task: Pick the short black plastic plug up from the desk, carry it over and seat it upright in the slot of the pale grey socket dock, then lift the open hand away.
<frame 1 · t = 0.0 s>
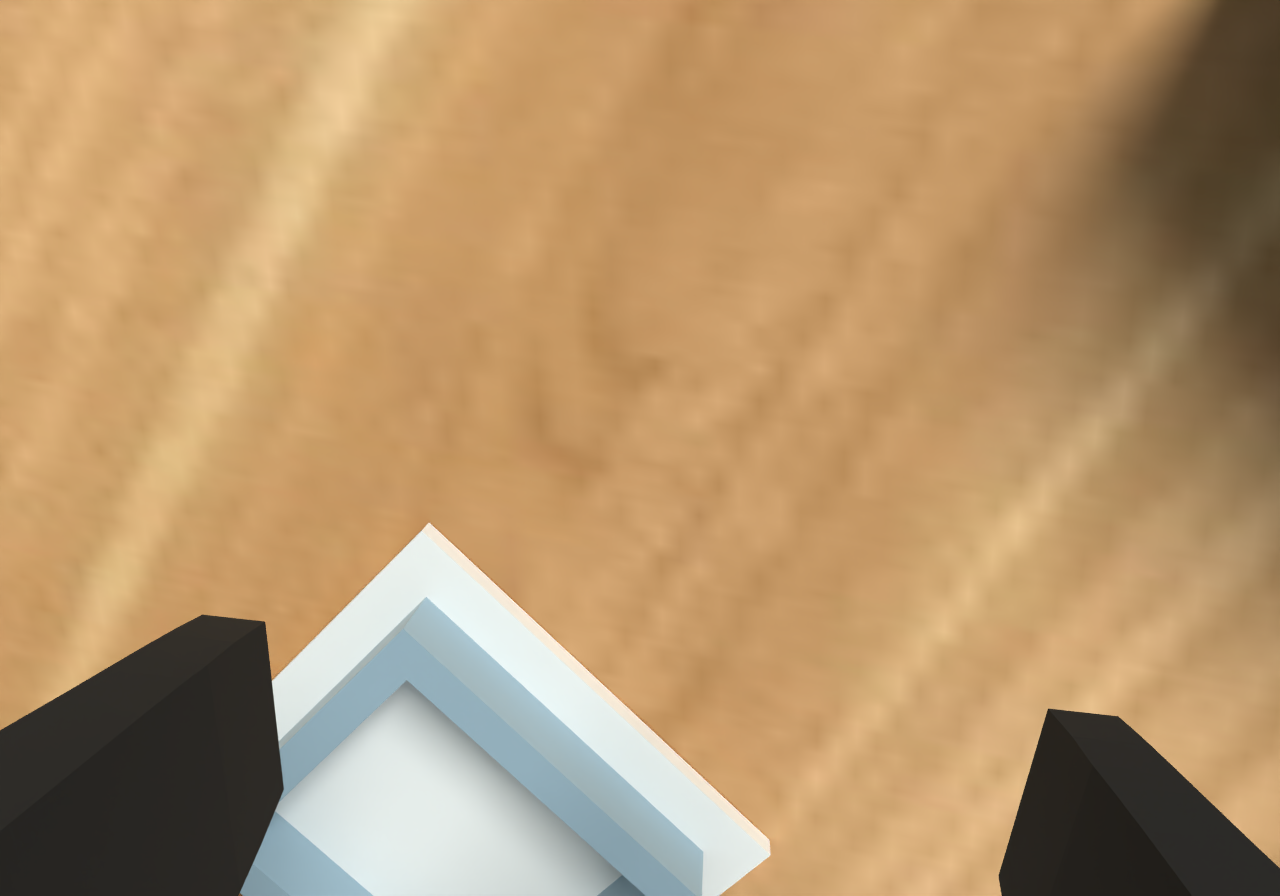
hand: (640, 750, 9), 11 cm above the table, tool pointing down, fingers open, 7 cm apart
socket dock: (462, 811, 22), on the table
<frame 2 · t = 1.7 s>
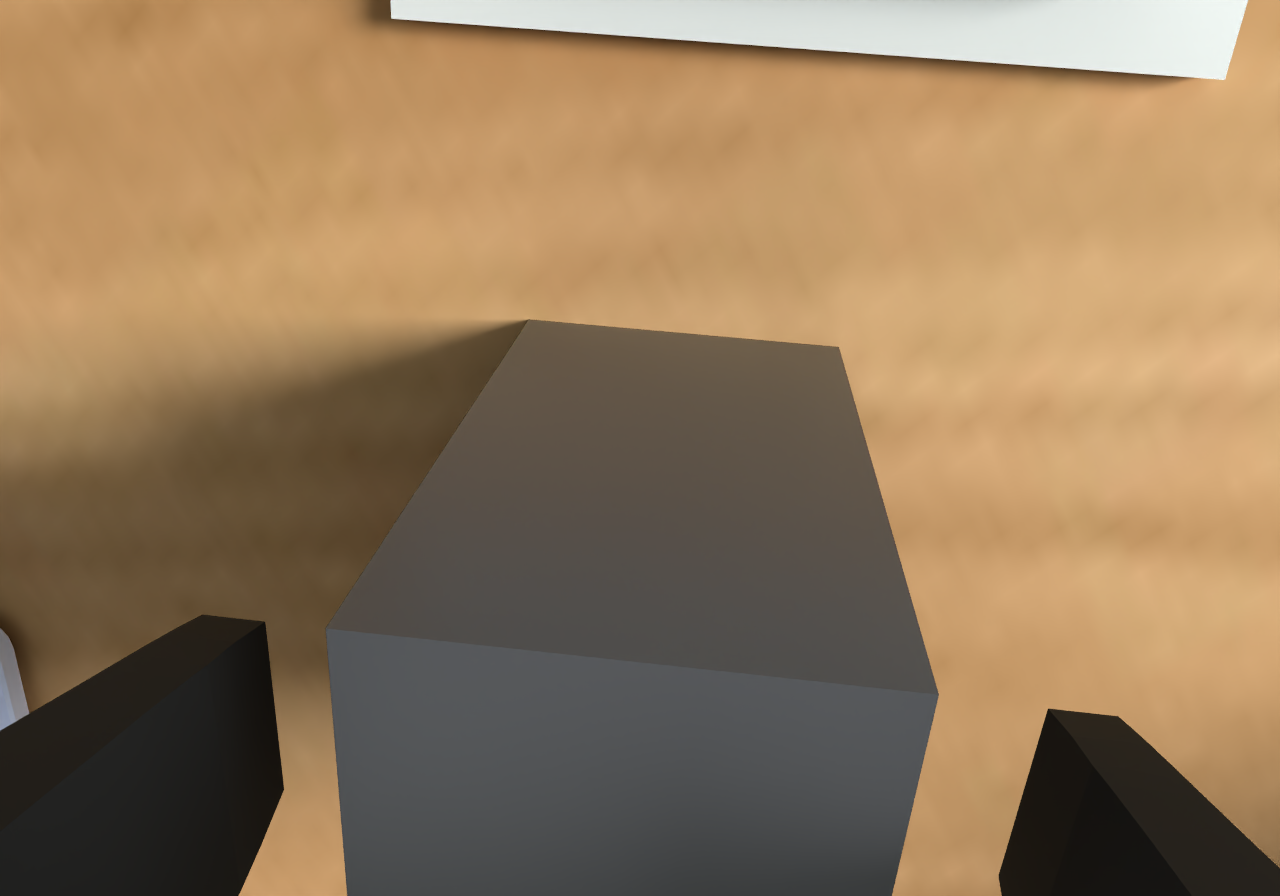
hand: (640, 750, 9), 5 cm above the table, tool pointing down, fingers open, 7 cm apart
plug: (667, 504, 14), on the table
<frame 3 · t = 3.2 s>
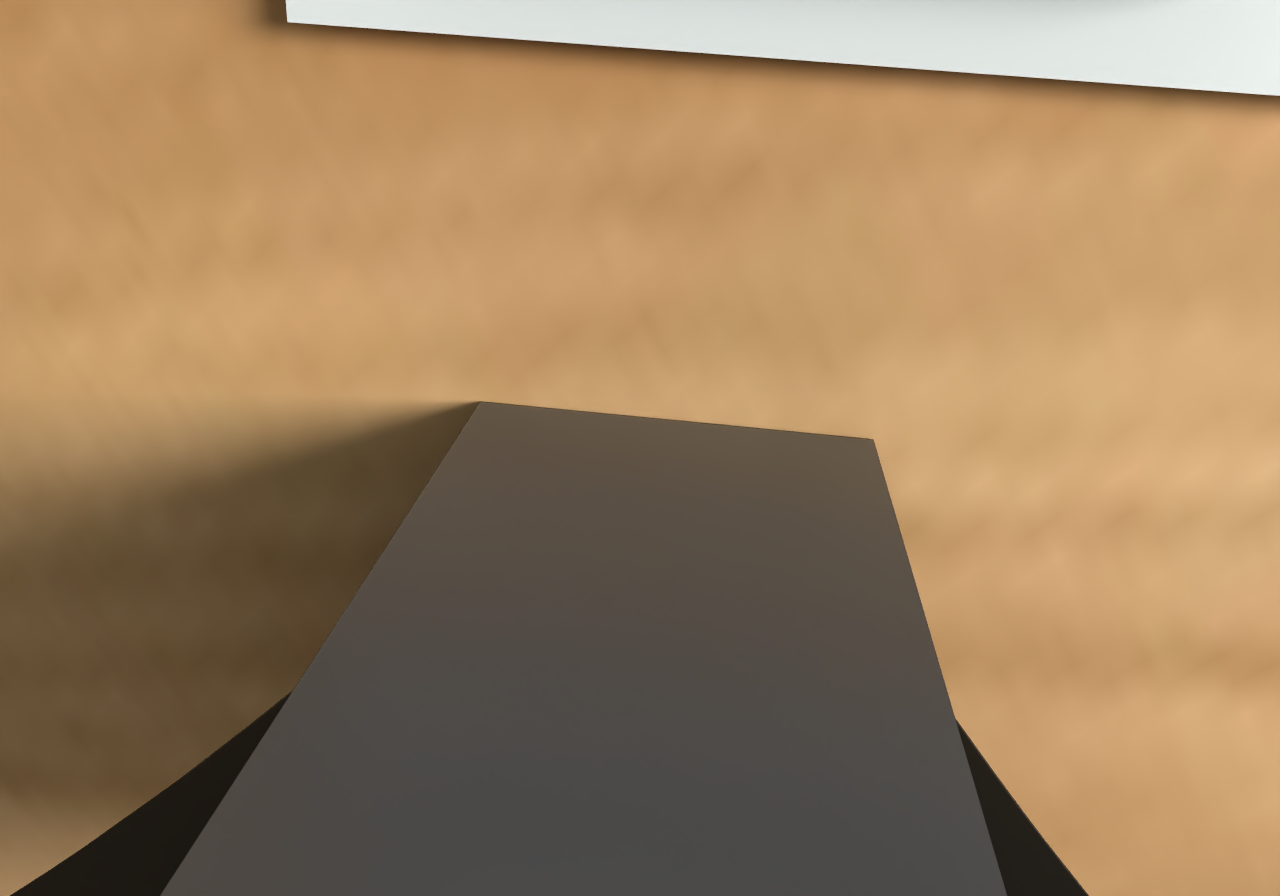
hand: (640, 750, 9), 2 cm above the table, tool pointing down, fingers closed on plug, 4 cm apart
plug: (656, 625, 11), on the table, touching gripper
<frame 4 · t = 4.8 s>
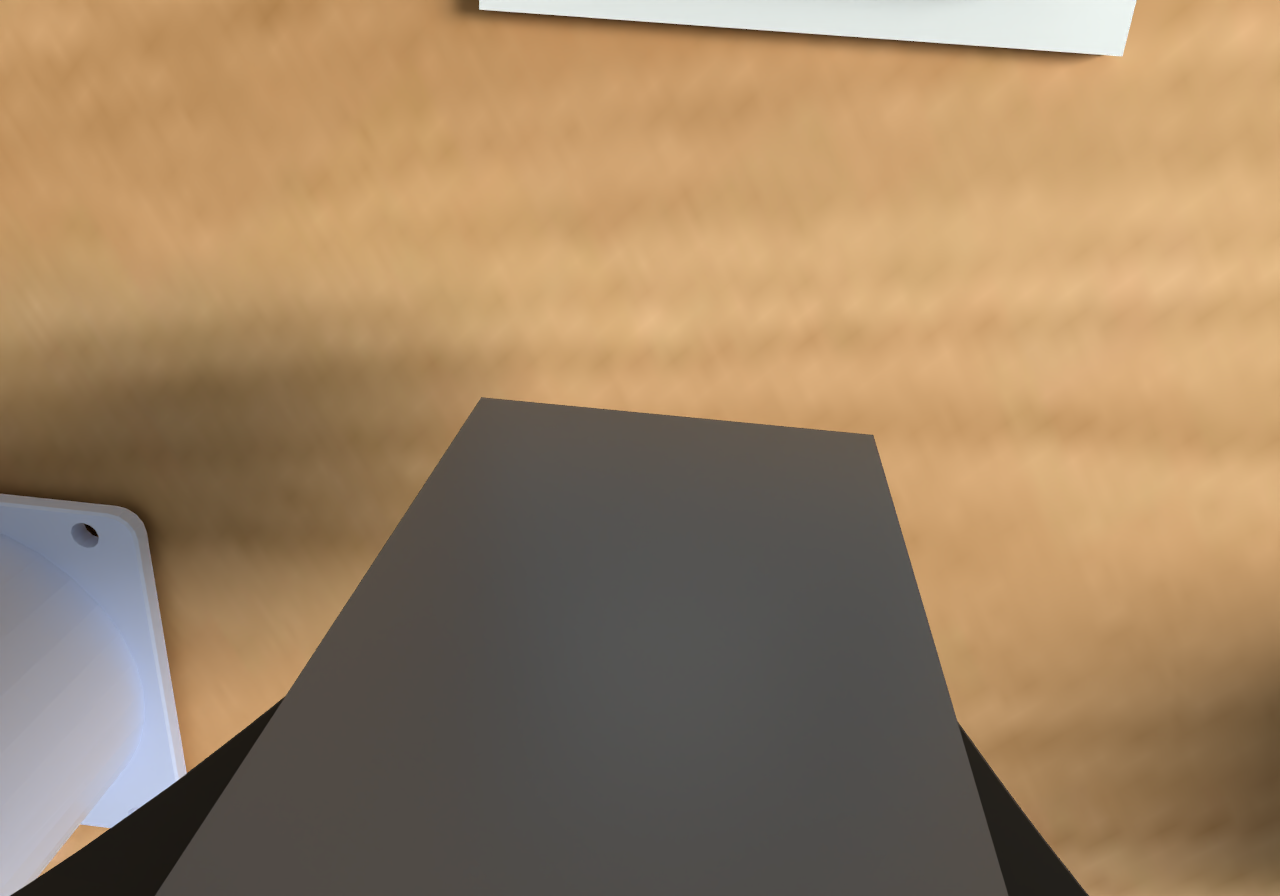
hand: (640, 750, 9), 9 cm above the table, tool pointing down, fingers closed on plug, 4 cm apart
plug: (657, 621, 11), point 6 cm above the table, touching gripper
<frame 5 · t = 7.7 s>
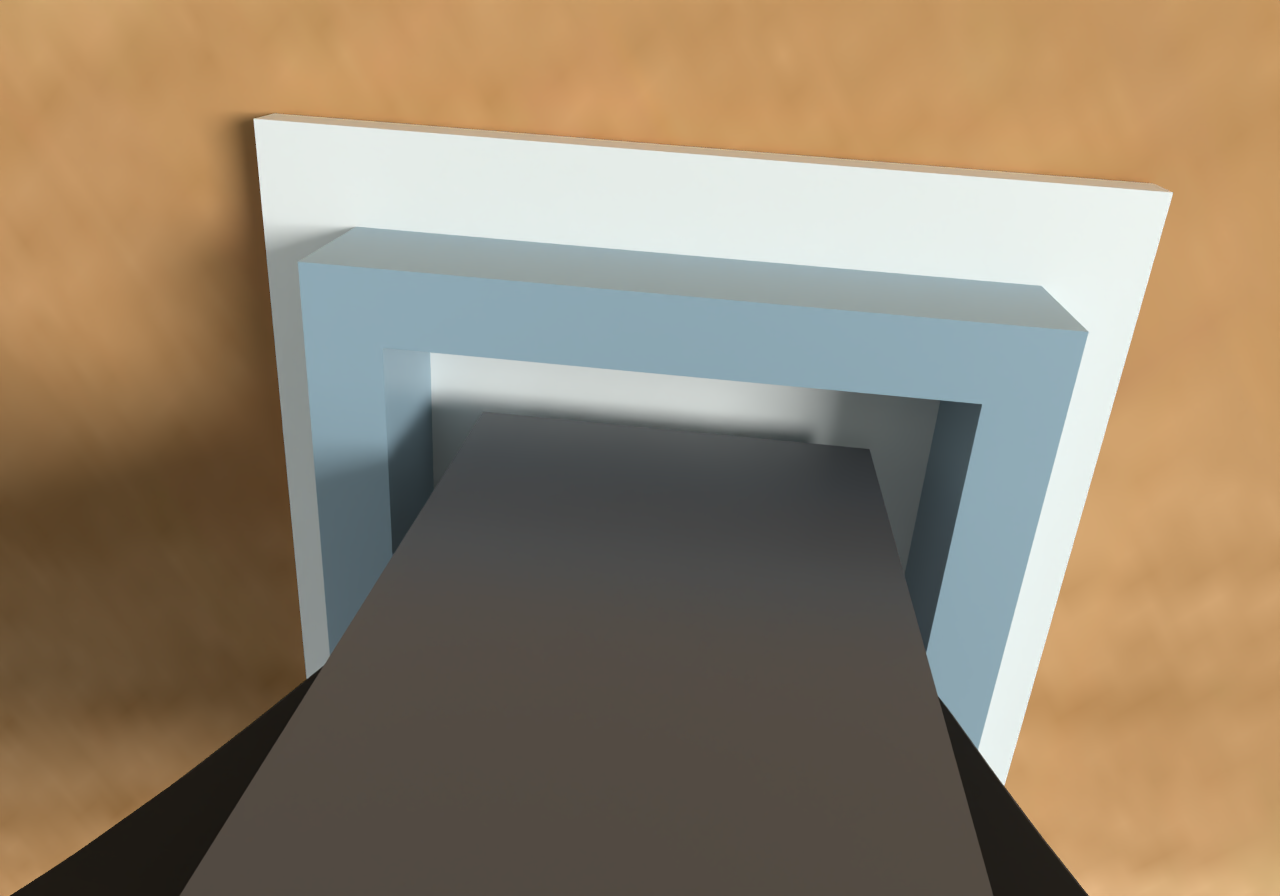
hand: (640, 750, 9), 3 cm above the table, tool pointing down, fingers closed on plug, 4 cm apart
socket dock: (665, 566, 12), on the table
plug: (656, 631, 11), point 1 cm above the table, touching gripper
when the fingers open (3 cm above the table, at t = 8.2 s): plug stays where it is, resting on socket dock.
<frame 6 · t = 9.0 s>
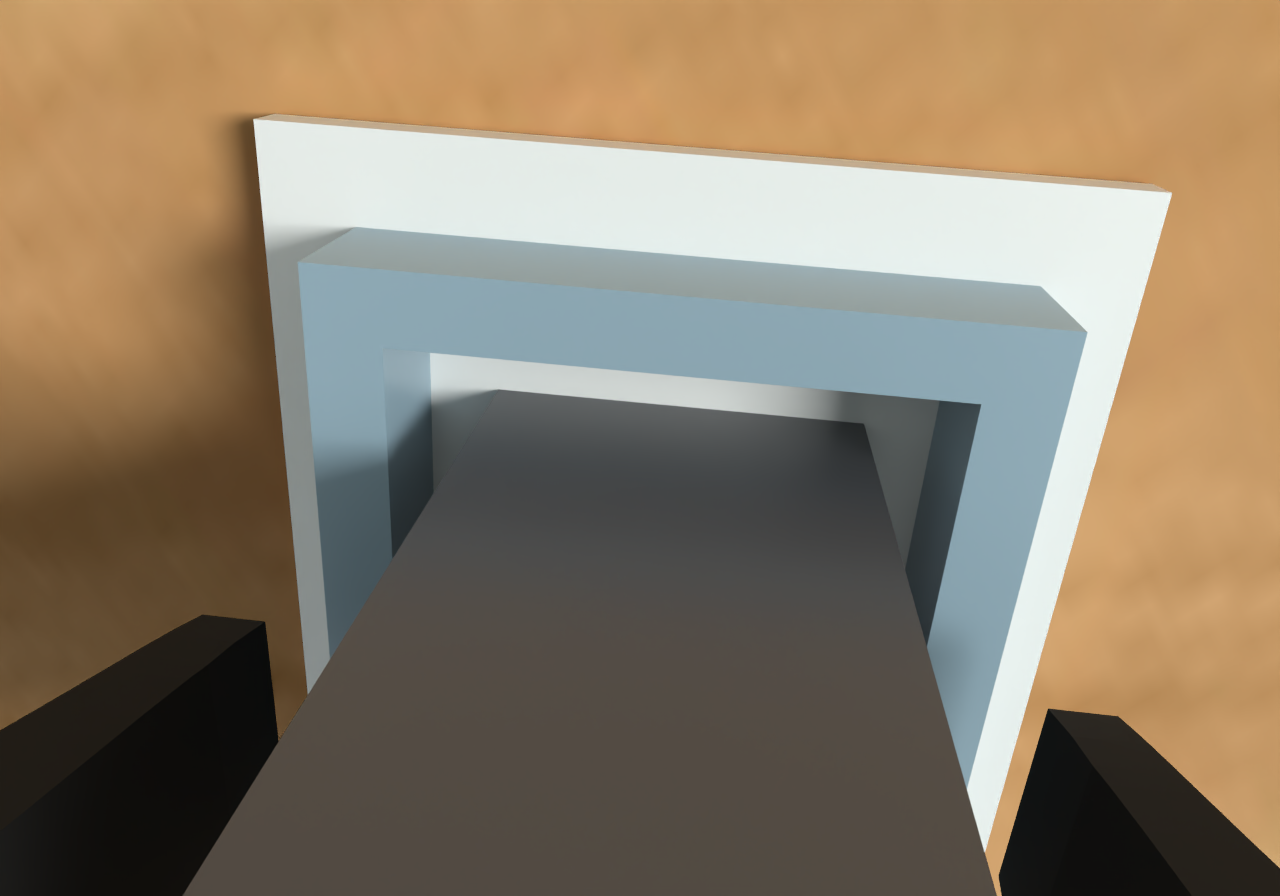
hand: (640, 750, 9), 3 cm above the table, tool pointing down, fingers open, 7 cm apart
socket dock: (665, 566, 12), on the table
plug: (662, 599, 12), resting on socket dock
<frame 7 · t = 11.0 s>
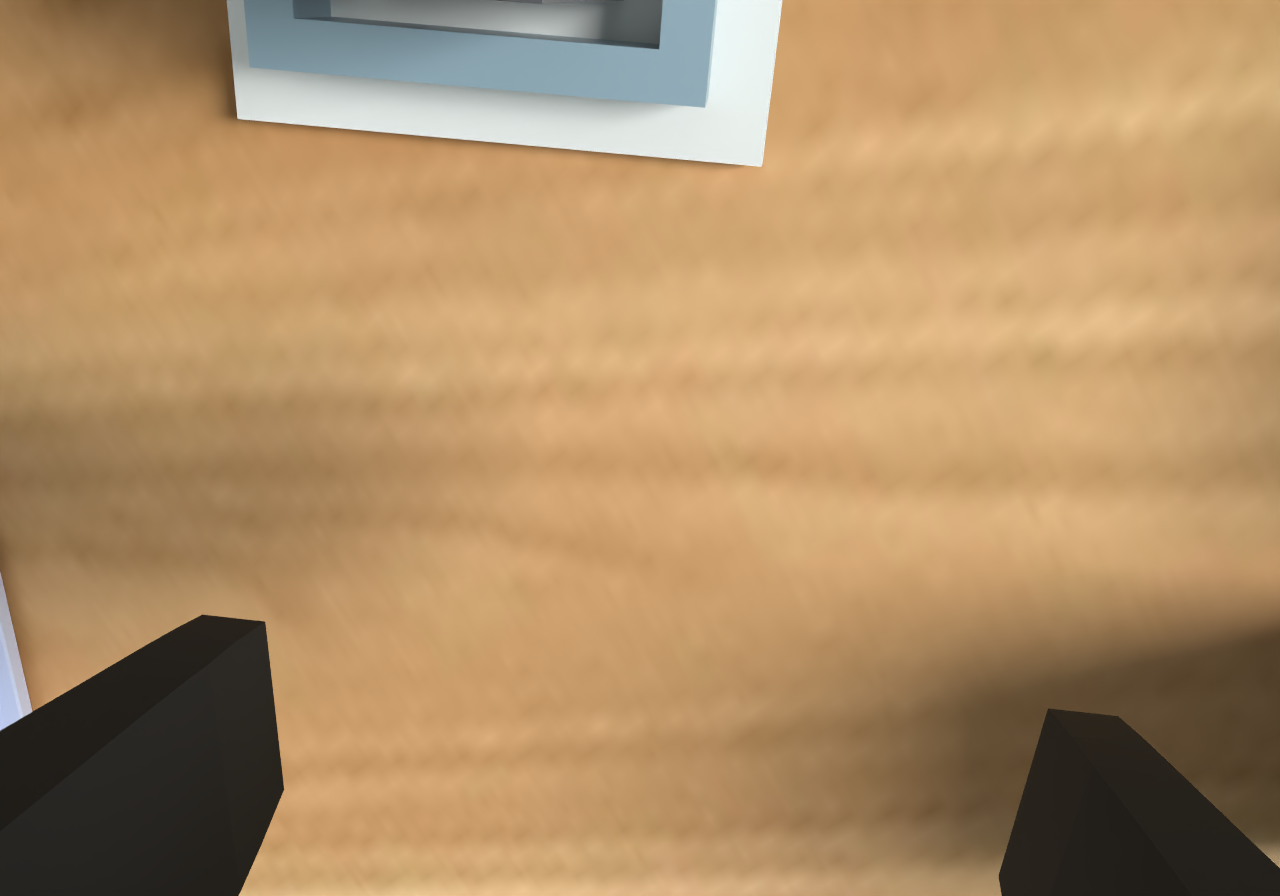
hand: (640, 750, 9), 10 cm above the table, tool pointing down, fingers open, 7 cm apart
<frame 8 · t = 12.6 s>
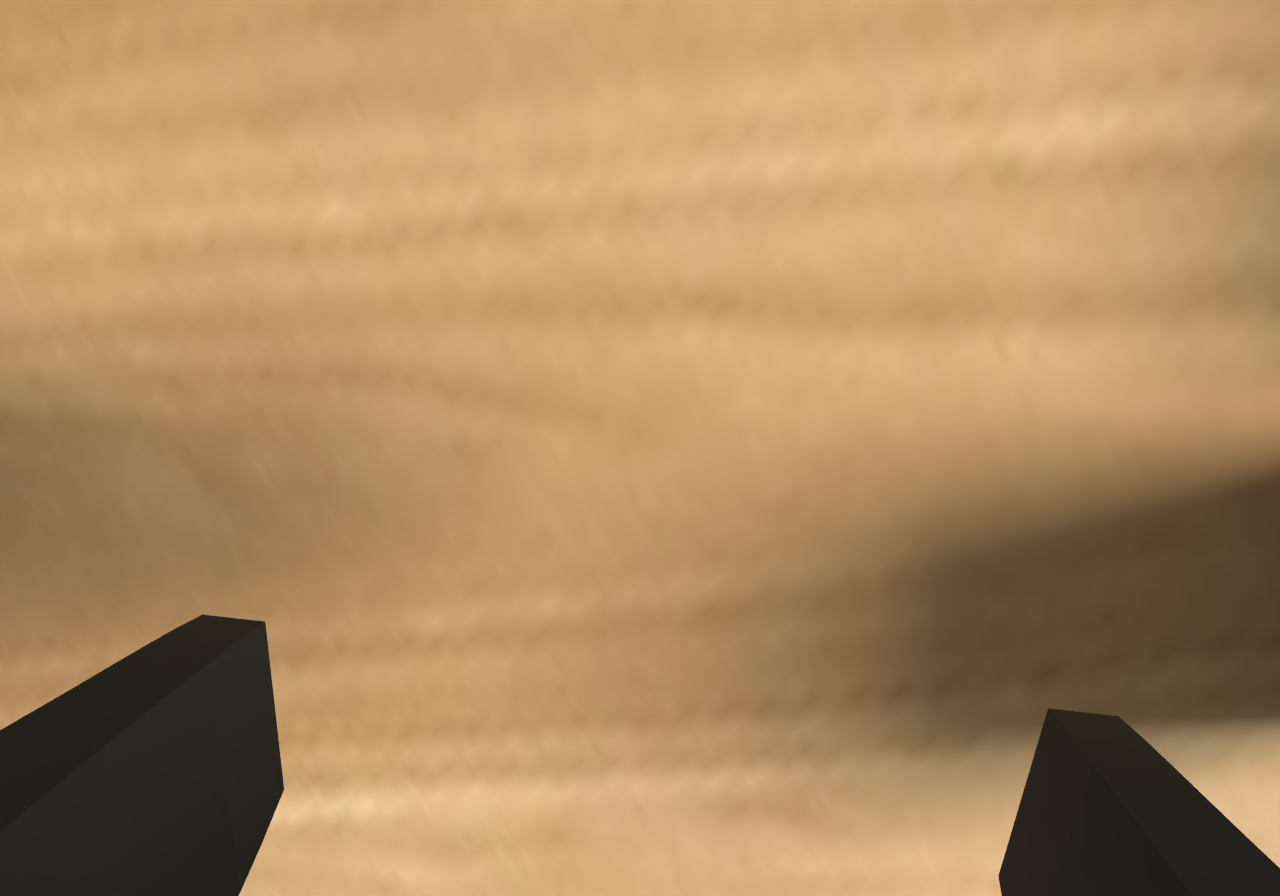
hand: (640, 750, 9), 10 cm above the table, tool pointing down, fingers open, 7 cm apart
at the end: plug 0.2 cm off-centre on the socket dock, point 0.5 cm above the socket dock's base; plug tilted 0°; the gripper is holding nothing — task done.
